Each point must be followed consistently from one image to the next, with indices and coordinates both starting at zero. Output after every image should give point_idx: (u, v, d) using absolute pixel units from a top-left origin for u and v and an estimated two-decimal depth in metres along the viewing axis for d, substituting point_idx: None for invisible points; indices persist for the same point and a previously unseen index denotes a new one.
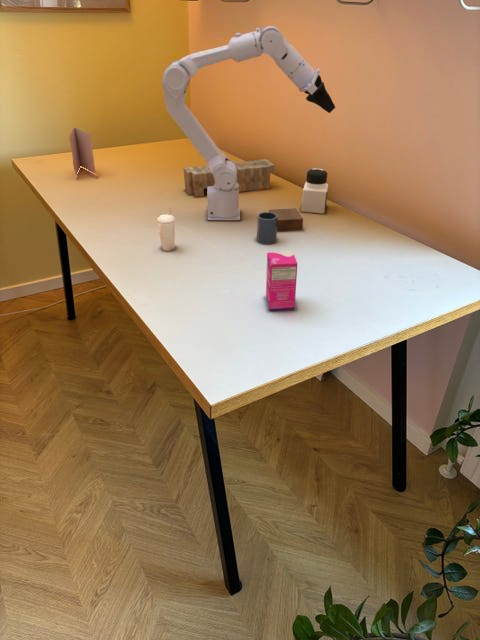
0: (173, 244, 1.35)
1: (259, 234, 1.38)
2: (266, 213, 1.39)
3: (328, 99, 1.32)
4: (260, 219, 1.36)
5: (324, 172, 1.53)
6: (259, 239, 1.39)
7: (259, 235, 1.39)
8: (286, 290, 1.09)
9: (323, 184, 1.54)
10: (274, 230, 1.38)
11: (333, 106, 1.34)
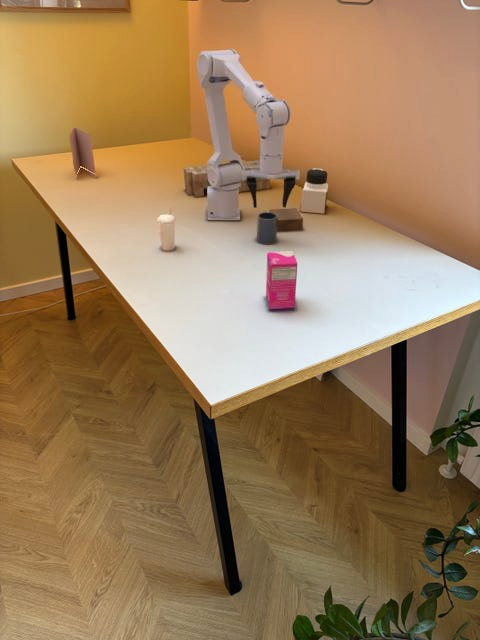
0: (173, 244, 1.35)
1: (259, 234, 1.38)
2: (266, 213, 1.39)
3: None
4: (260, 219, 1.36)
5: (324, 172, 1.53)
6: (259, 239, 1.39)
7: (259, 235, 1.39)
8: (286, 290, 1.09)
9: (323, 184, 1.54)
10: (274, 230, 1.38)
11: (253, 205, 1.35)
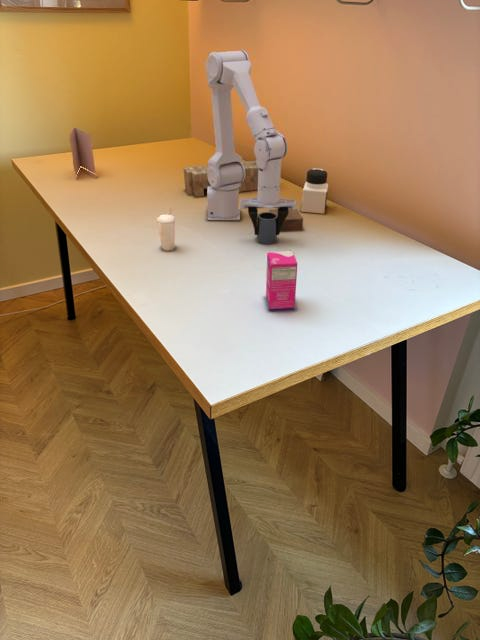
0: (173, 244, 1.35)
1: (259, 234, 1.38)
2: (266, 213, 1.39)
3: None
4: (260, 219, 1.36)
5: (324, 172, 1.53)
6: (259, 239, 1.39)
7: (259, 235, 1.39)
8: (286, 290, 1.09)
9: (323, 184, 1.54)
10: (274, 230, 1.38)
11: None
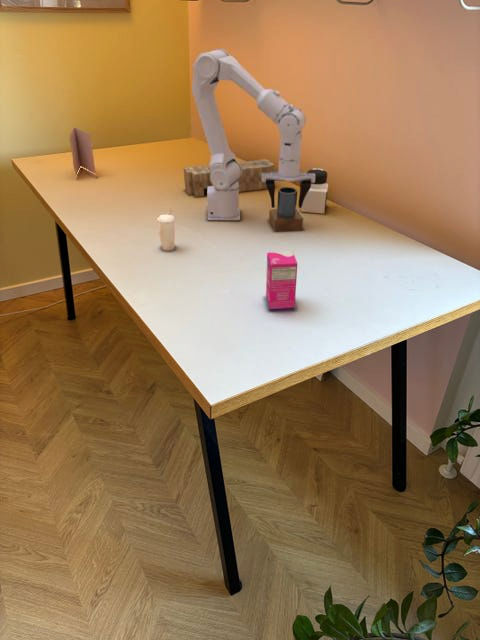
0: (173, 244, 1.35)
1: (279, 208, 1.45)
2: (286, 188, 1.46)
3: None
4: (281, 193, 1.43)
5: (324, 172, 1.53)
6: (279, 213, 1.46)
7: (279, 209, 1.45)
8: (286, 290, 1.09)
9: (323, 184, 1.54)
10: (294, 204, 1.44)
11: (271, 205, 1.45)
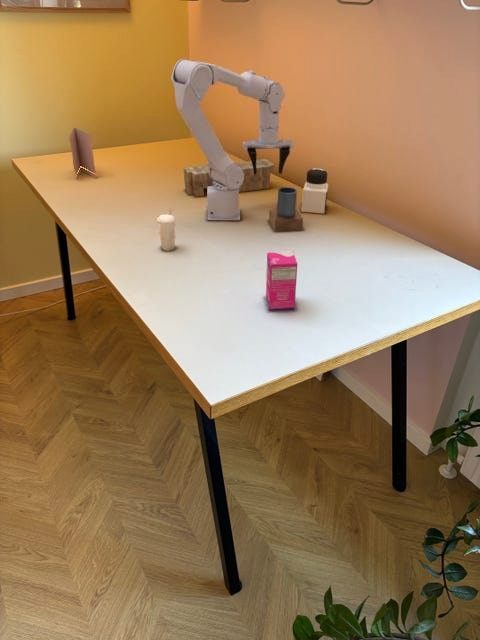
0: (173, 244, 1.35)
1: (279, 208, 1.45)
2: (286, 188, 1.46)
3: None
4: (281, 193, 1.43)
5: (324, 172, 1.53)
6: (279, 213, 1.46)
7: (279, 209, 1.45)
8: (286, 290, 1.09)
9: (323, 184, 1.54)
10: (294, 204, 1.44)
11: (253, 172, 1.55)
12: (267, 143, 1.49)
